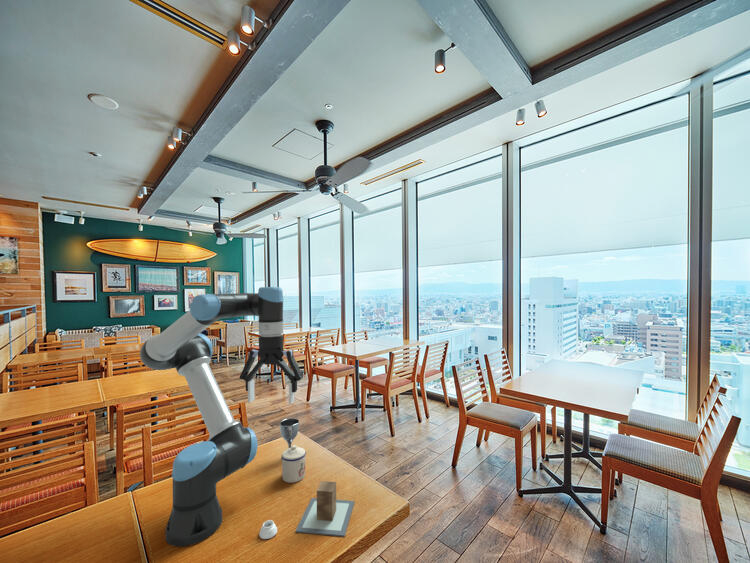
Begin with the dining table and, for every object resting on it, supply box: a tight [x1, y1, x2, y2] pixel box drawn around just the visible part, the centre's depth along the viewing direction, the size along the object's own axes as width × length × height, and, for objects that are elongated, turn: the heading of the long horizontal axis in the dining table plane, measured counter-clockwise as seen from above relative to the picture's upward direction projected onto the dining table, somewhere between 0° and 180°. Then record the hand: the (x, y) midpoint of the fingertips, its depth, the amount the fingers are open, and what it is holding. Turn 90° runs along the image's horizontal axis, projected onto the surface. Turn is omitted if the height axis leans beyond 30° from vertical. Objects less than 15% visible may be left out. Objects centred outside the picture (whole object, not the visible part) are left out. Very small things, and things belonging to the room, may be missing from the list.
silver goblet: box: [279, 417, 300, 460], centre depth 137 cm, size 8×8×15 cm
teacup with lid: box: [281, 444, 306, 484], centre depth 124 cm, size 12×9×12 cm
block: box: [316, 480, 337, 521], centre depth 101 cm, size 5×5×9 cm
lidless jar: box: [258, 519, 278, 540], centre depth 94 cm, size 5×3×5 cm
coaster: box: [295, 497, 355, 537], centre depth 101 cm, size 15×15×1 cm
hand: (271, 401), depth 101 cm, fingers open, 13 cm apart
